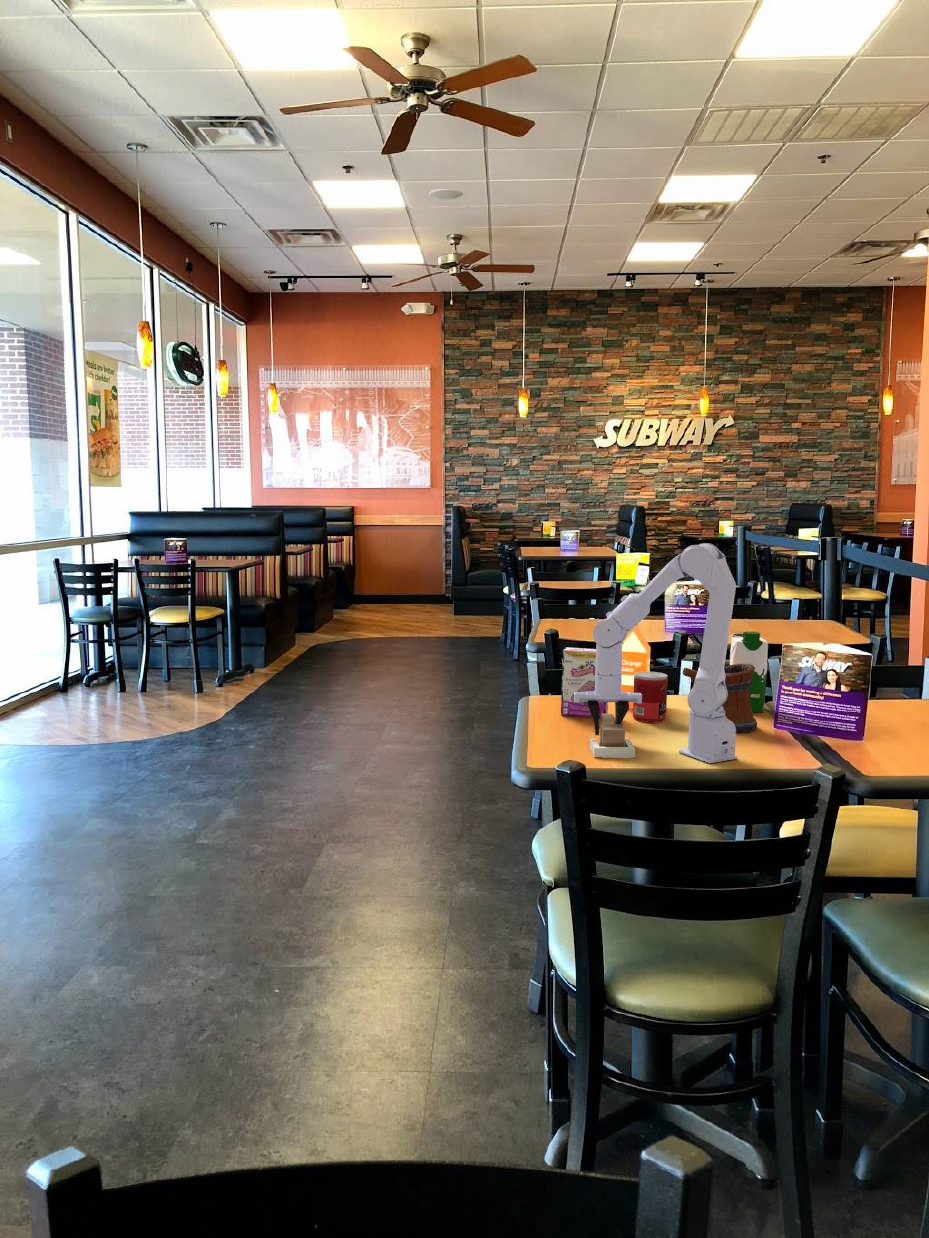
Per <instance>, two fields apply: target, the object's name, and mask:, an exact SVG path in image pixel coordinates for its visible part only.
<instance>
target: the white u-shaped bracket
mask: <svg viewBox="0 0 929 1238" xmlns="http://www.w3.org/2000/svg"><path fill="white" fill-rule="evenodd" d="M589 739H590V741H589V748H590V750H591V753H593V754H592V757H593V758H595V757H602V759H603V758H606V759H607V758H610V759H611V758H612V759H614V758H615V759H635V758H636V748H635V745H634V744H633V742H632V740H631V739H630V738H625V742H624V747H600V743H599V742H598V740H597V738H593V737H592V738H589Z"/></svg>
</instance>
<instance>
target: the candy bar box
mask: <svg viewBox="0 0 929 1238" xmlns="http://www.w3.org/2000/svg"><path fill="white" fill-rule="evenodd" d="M595 668H596V648H583V647H581V648H580V647H565V648H564V649H563V650H562V669H561V671H562V673H561V697H560V716H564V717H565V716H568V717H579V718H581V717H582V718H591V719H592V716H591V713H590V710H589V707H588V705H587V703H586V702H579V703H578V702H575V701H574V692H589V691H595ZM598 703H599V707H600V713H599V719H601V714H609V713H608V712H609V711H608V710H609V702H598Z"/></svg>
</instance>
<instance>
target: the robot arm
mask: <svg viewBox="0 0 929 1238" xmlns="http://www.w3.org/2000/svg"><path fill="white" fill-rule="evenodd" d="M686 577H692V578H693V579H695V580H697V581H698V582H700V584H701V585H702V586H703V587H704V589H706V590H707V591H708V592H709V593H708V594H709V596H708V597H709V598H708V604H707V610H706V611H707V612H706V617H705V618H706V619H705V624H704V631H703V637H702V645H701V646H702V647H701V653H700V658H699V666H698V670H697V671H698V672H697V675H696V678H695V683H694V686H693V685H692V688H691V689H690V691H689V692H688V695H687V705H688V707H689V711H688V713H689V714H688V715H689V716H688V741H687V748H683V749H678V753H680V754H682V755H685V756H688V757H691V758H694V759H697V760H700V761H701V762H704V761H705V763H707V762H708V764H714V763H718V762H725V761H731V760H737V759H738V758H739V757H738V755H736V741H737V738H736V737H737V732H736V728H735V725H734V723H733V722H732V721H730V720H728V719H727V718H726V716H725V711H724V708H723V707H722V704H724V702H725V701H726V699H727V696H728V692H727V688H726V685H725V677H726V675H725V671H724V667H725V664H726V657H727V649H728V644H729V638H730V631H731V625H732V617H733V616H732V615H733V608H734V604H735V603H734V602H735V595H736V588H737V586H736V581H735V579H734V577H733V574H732V572H731V570H730V567H729V565H728V563H727V559H726V556H725V554H724V553H723V552H722V551H721V550H720V549H718V547H717V546H715V545H714V544H712V543H709V542H708V543H706V542H703V543H699V544H694V545H693V544H692V545H689V546H688V547H686V548H684V550H682V552H681V553H679V554H678V555H676V556H675V557H674V558H672V559H671V560H670V561H669V562H668V563H667V564H666V565H665V566H664V567H663V568H662V569H661V570H660V571H659V572H658V573H657V574H656V575H655V576H654V577H653V578H652V580H651V581H650V582H649V583H648V584H647V585H646V586H645V587H644V588H643V589H642V590H641V591H640V592H639V593H630V594H628V595H623V596H622V597H621V599H620V601H621V602H620V603H619V604H617V606H616V607H615V608H614V609H613V610H612V611H608V612H607V613H606V614H605V616H606V619H602V620H599V621H597V622H596V625H595V626H594V628H593V630H592V637H593V640H594V642H595V643H596V647H595V649H596V668H595V691H589V692H574V701H575V702H578V703H579V702H586V703H587V705H588V707H589V710H590V713H591V716H592V718H591V719H592V723H593V727H594V728H593V729H594V735H595V736H600V718H599V713H600V707H599V703H598V702H608V703H614V705H615V706H614V709H615V710H614V711H615V714H614V715H615V716H614V717H615V718H614V724H622V723H623V721H624V718H625V717H626V715H627V713H628V711H629V709H630V708H629V702H630V703H642V694H641V693H631V692H621V685H622V645H623V643H624V642H625V639H627V635H628V633H630V632H631V631H633V629H634V628H635V627H636V626H637V625H638V624H639V623H640V622H642V621H643V620H644V619H645V618H646V617H647V616H648V615H649V614H650V611H651V610H650V609H651V604H652V603H653V602H654V601H655V600H656V599H658V598H659V596H661V595H662V594H663V593H664V592H665V591H666V590H668V589H669V588H670V587H671V586H672V585H673V584H675V582H677V580H679V579H683V578H686ZM622 725H623V724H622Z"/></svg>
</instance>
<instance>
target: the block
mask: <svg viewBox="0 0 929 1238" xmlns="http://www.w3.org/2000/svg"><path fill="white" fill-rule="evenodd" d="M614 717H615V716H614V714H613V713H607V714H601V718H600V725H599V747H624V742H625V739H626V738H625V736H626V735H625V733H626V729H625V728H624V726H623V724H615V718H614Z"/></svg>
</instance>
